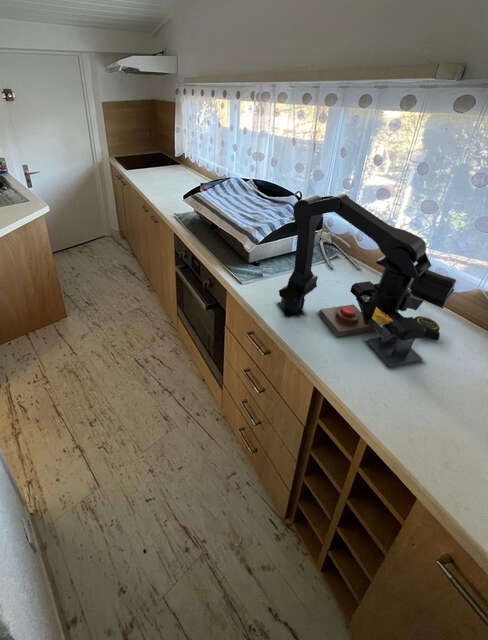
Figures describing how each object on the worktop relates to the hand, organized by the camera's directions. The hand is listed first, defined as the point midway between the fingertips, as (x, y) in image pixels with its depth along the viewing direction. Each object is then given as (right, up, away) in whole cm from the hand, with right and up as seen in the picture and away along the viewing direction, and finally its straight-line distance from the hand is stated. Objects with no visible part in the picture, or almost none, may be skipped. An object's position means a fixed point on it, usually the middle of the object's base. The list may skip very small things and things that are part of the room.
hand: (375, 332), depth 81 cm
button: (0, +2, +14) cm, 14 cm away
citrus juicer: (+12, +15, +40) cm, 44 cm away
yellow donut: (+11, +2, +11) cm, 16 cm away
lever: (+4, 0, +1) cm, 4 cm away
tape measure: (+22, -4, +11) cm, 25 cm away
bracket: (+8, -7, +6) cm, 12 cm away
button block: (0, -2, +16) cm, 16 cm away
